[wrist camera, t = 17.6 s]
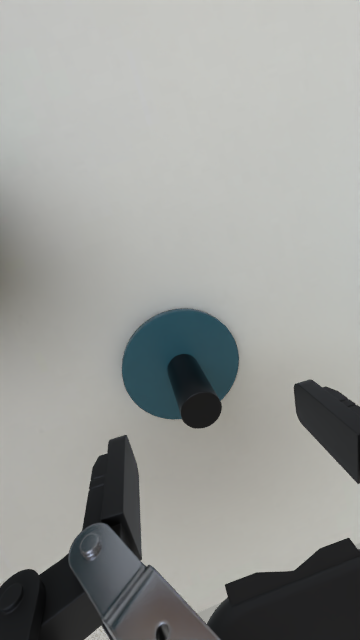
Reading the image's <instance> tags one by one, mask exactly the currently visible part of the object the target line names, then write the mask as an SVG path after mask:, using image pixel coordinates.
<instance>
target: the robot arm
mask: <svg viewBox="0 0 360 640" xmlns="http://www.w3.org/2000/svg"><path fill="white" fill-rule="evenodd" d="M294 395H295V406H296V413H297V416H298V418H299V420H300V422H301V423H302V425H303V426H304V427H305V428H306V429H307V430H308V431H309V432H310V433H311V434H312V435H313V436H314V438H315V439H316V440H317V441H318V442H319V443H320V444H321V445H322V446H323V447H324V448H325V449H326V450H327V451H328V452H329V453H330V455H331V456H332V457H333V458H334V459H335V460H336V461H337V462H338V463H339V464H340V465H341V466H342V467H343V468H344V469H345V470H346V472H347V473H348V474H349V475H350V476H351V477H352V478H353V479H354V480H355V481H356V482H357V483H358V484H359V483H360V407H359V406H358V405H355V403H354V402H352V401H351V400H348V398H347V397H345V396H344V395H342V394H341V393H340V392H338V391H336V390H333V389H331V388H328V387H323V388H322V387H321V386H320V385H318V384H317V383H316V382H314V381H313V380H307V381H303V382H300V383H297V384H295V385H294ZM89 489H90V491H89V493H88V499H87V505H86V511H85V517H84V523H83V529H82V532H80V534H79V535H78V536H77V537H76V538H75V540H74V542H73V543H72V545H71V548H70V550H69V553H68V554H67V555H66V556H65V557H64V558H63V559H61V560H60V561H59V562H57V563H56V564H54V565H53V566H51V567H50V568H49V569H47V570H46V571H44V572H43V573H41V574H40V575H38V573H37V572H36V571H34V570H32V569H26V570H22V571H20V572H18V573H16V574H14V575H13V576H12V577H10V578H9V579H8V580H7V581H6V582H5V583H4V584H3V585H2V586H1V587H0V640H84V639H85V638H86V637H88V636H89V635H90V634H91V633H92V632H94V631H95V630H96V629H97V628H98V627H100V626H102V628H103V629H104V631H105V633H106V634H107V636H108V637H109V639H110V640H360V549H357V548H356V547H355V545H354V544H353V543H352V541H351V540H350V539H349V538H347V539H344V540H341V541H339V542H336V543H334V544H331V545H328V546H326V547H323V548H320V549H319V550H318V551H316V552H315V553H314V554H313V555H312V556H311V557H310V558H308V559H307V560H306V561H305V562H304V563H303V564H302V565H300V566H299V567H298V568H297V569H296V570H294V571H287V572H261V573H254V574H252V575H249V576H246V577H244V578H241V579H239V580H236V581H233V582H231V583H228V584H225V587H226V591H227V595H228V598H227V599H225V600H224V601H223V602H222V603H221V604H220V605H219V607H218V608H217V609H216V610H215V612H214V613H213V614H212V616H211V617H210V619H209V621H208V623H207V624H206V623H205V622H204V621H203V620H202V619H201V618H200V617H199V615H198V614H197V613H196V612H195V611H194V610H193V609H192V608H191V607H190V606H189V605H188V604H187V603H186V601H185V600H184V599H183V598H182V597H181V596H180V595H179V594H178V593H177V592H176V591H175V590H174V589H173V587H172V586H171V585H170V584H169V583H168V582H167V581H166V580H165V579H164V578H163V577H162V576H161V575H160V574H159V572H158V571H157V570H156V569H155V568H153V567H152V566H151V565H148V566H145V565H144V564H143V563H142V562H141V561H140V560H142V552H141V525H140V498H139V474H138V468H137V463H136V460H135V457H134V454H133V451H132V448H131V445H130V443H129V440H128V437H127V435H124V436H121V437H117V438H114V439H111V440H109V444H108V454H104V455H101V456H99V457H98V459H97V461H96V463H95V464H94V466H93V469H92V475H91V481H90V487H89Z"/></svg>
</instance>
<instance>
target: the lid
mask: <svg viewBox="0 0 360 640" xmlns="http://www.w3.org/2000/svg"><path fill="white" fill-rule="evenodd" d="M238 364H239V356H238V349H237V345H236V342H235V340H234V338H233V336H232V334H231V333H230V331H229V330H228V329H227V327H226V326H225V325H223V324H222V323H221V322H220V321H219V320H218V319H216V318H215V317H213V316H211V315H210V314H208V313H205V312H202V311H199V310H194V309H174V310H169V311H166V312H163V313H160V314H158V315H156V316H154V317H152V318H150V319H149V320H147V321H146V322H145V323H144V324H142V325H141V326H140V327H139V328H138V329H137V330H136V331H135V333H134V334H133V335H132V337H131V338H130V340H129V342H128V344H127V346H126V349H125V351H124V355H123V361H122V376H123V381H124V385H125V388H126V390H127V392H128V394H129V395H130V397H131V398H132V400H133V401H134V402H135V403H136V404H137V405H138V406H139V407H140V408H142V409H143V410H144V411H146V412H148V413H150V414H152V415H154V416H157V417H161V418H165V419H182V420H183V421H184V423H185V424H187V425H188V426H190V427H192V428H205V427H208V426H210V425H211V424H213V423H214V422H215V421H216V420H217V419H218V417H219V416H220V413H221V409H222V406H221V400H222V399H223V398H224V397H225V395H226V394H227V393H228V392H229V390H230V388H231V387H232V385H233V383H234V381H235V378H236V375H237V371H238Z"/></svg>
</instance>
